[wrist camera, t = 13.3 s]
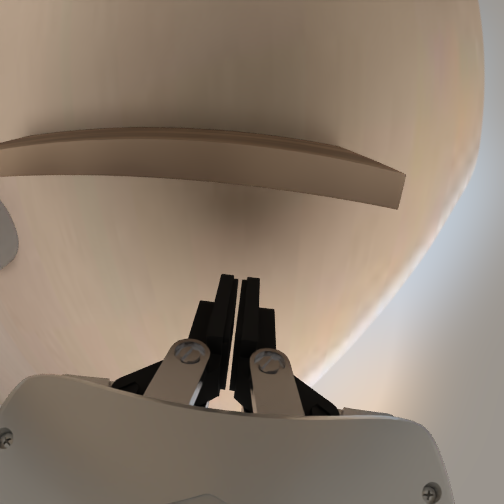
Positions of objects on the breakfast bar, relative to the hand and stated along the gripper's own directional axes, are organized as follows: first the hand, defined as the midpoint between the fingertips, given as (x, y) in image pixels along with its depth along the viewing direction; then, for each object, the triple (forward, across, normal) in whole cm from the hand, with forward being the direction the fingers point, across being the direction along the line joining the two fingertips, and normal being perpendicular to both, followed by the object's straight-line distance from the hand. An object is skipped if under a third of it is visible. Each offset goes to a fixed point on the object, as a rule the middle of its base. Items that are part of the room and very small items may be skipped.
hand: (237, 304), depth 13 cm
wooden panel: (+11, +8, -6) cm, 15 cm away
